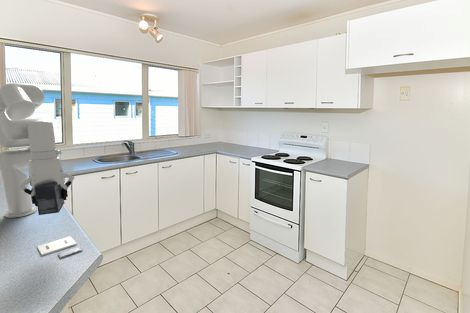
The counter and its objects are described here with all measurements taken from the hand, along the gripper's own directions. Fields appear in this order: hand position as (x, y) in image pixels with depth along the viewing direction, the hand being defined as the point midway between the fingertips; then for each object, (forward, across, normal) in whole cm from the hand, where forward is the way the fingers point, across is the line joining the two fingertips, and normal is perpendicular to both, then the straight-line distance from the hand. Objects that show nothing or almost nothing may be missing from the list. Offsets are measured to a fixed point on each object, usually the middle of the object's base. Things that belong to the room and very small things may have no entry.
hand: (50, 202), depth 100 cm
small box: (+3, 0, 0) cm, 3 cm away
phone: (+18, -2, +9) cm, 20 cm away
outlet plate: (+18, 0, 0) cm, 18 cm away
